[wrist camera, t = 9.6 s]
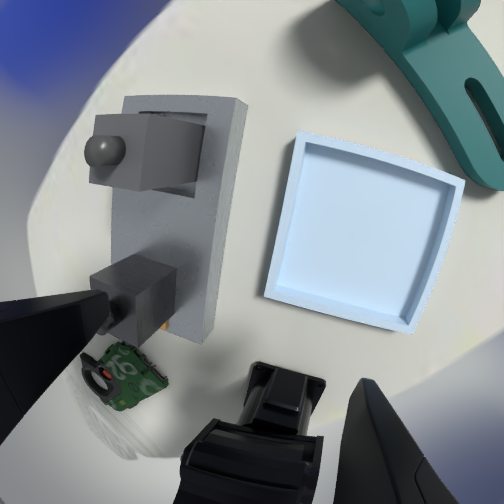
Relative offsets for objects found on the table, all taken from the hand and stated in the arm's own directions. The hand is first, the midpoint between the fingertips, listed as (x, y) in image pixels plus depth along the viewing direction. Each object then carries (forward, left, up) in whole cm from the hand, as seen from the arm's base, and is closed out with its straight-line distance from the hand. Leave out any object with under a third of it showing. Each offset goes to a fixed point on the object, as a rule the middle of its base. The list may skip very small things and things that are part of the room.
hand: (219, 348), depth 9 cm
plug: (+5, +9, -12) cm, 16 cm away
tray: (+2, -5, -12) cm, 14 cm away
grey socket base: (0, +9, -12) cm, 15 cm away
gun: (-22, +17, -13) cm, 31 cm away
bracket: (+15, -9, -13) cm, 22 cm away
